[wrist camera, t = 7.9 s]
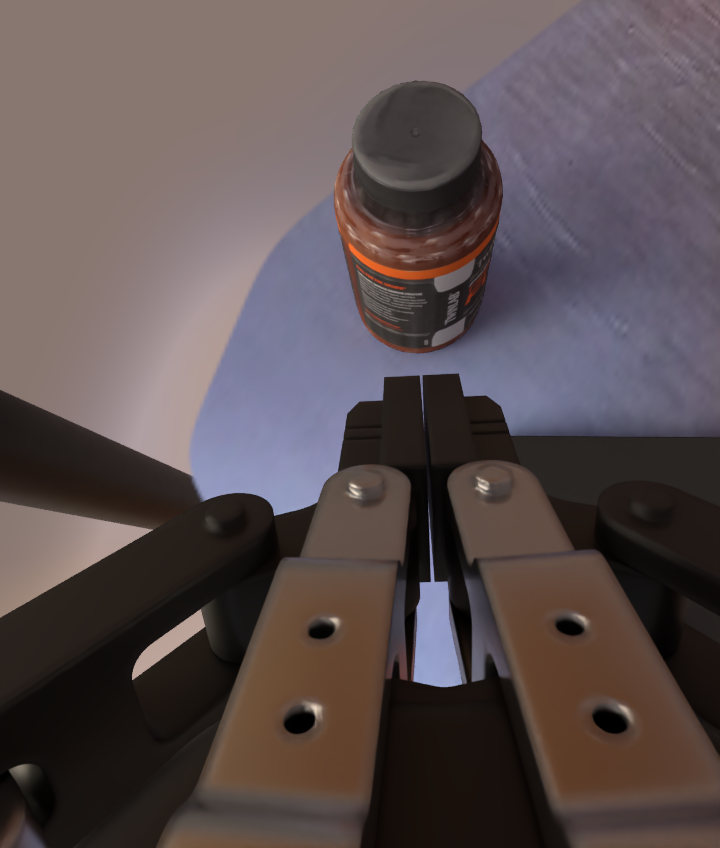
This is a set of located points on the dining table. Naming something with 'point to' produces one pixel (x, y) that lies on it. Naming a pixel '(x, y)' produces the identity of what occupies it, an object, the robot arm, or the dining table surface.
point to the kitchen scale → (626, 475)
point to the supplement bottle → (418, 215)
